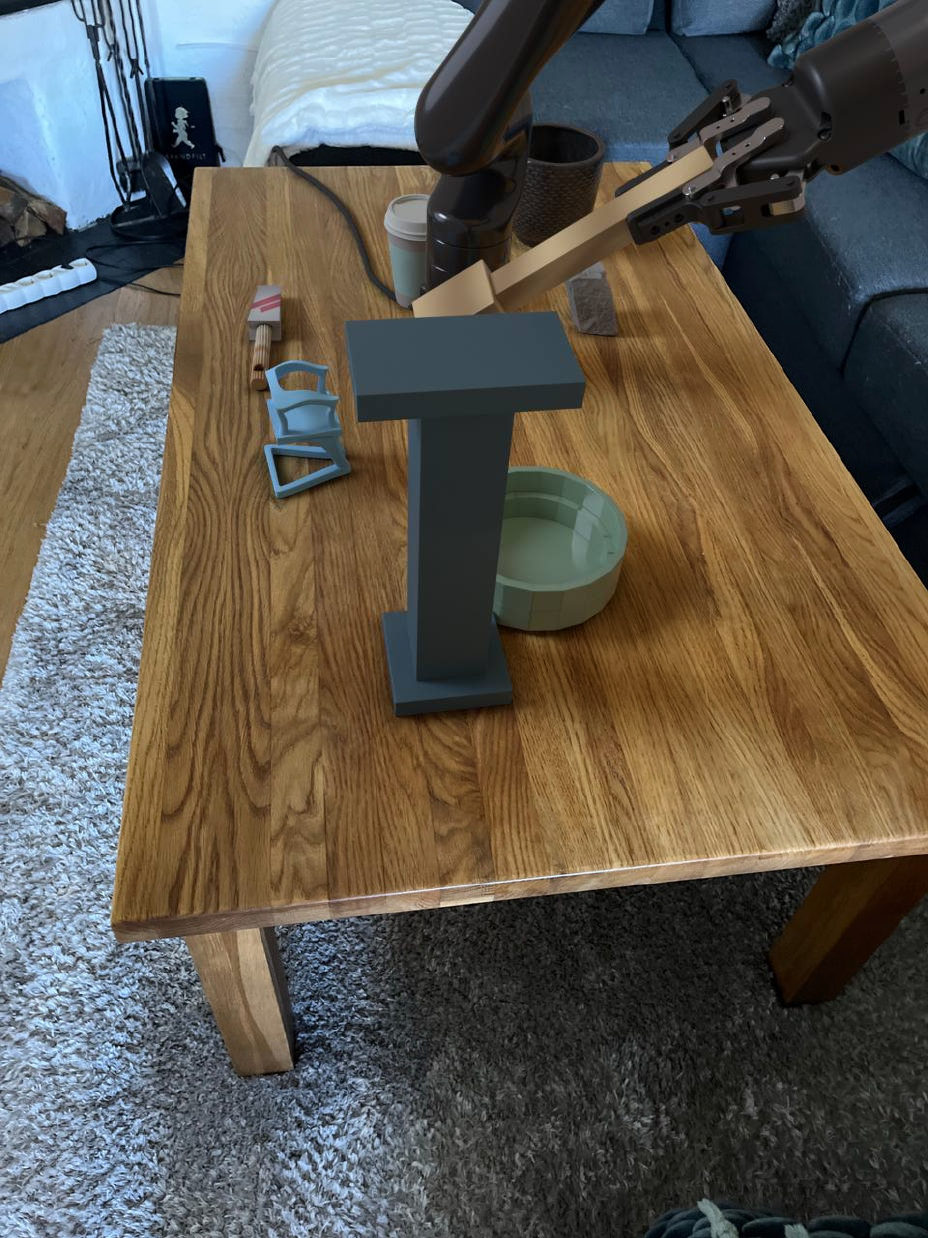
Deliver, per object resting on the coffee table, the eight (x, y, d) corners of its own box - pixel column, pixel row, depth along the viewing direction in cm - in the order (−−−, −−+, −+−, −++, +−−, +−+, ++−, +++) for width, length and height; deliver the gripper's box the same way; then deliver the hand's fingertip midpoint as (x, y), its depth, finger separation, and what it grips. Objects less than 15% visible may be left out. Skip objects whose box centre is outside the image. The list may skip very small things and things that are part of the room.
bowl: (411, 557, 91) (411, 511, 87) (536, 489, 98) (542, 444, 94) (525, 664, 83) (532, 620, 79) (651, 581, 91) (664, 537, 86)
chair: (355, 486, 97) (351, 390, 88) (275, 499, 95) (262, 402, 86) (340, 440, 102) (335, 344, 93) (264, 451, 100) (250, 355, 91)
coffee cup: (459, 289, 124) (464, 199, 114) (437, 322, 118) (440, 230, 109) (399, 275, 125) (399, 186, 116) (374, 307, 120) (372, 215, 111)
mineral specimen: (595, 294, 123) (613, 243, 116) (619, 341, 120) (639, 292, 113) (544, 299, 121) (559, 248, 114) (567, 348, 118) (584, 298, 111)
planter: (594, 263, 130) (610, 168, 120) (494, 257, 129) (502, 162, 120) (587, 215, 139) (601, 123, 129) (494, 210, 139) (501, 117, 129)
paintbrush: (284, 274, 118) (273, 374, 106) (286, 294, 120) (275, 394, 108) (253, 274, 117) (238, 374, 105) (256, 293, 120) (241, 393, 107)
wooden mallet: (438, 368, 67) (419, 346, 65) (429, 324, 70) (411, 301, 68) (730, 200, 59) (718, 168, 58) (706, 158, 62) (695, 127, 60)
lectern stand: (371, 719, 78) (358, 405, 54) (360, 629, 85) (343, 311, 61) (533, 701, 81) (590, 391, 56) (510, 614, 87) (552, 302, 63)
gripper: (837, -29, 58) (581, 116, 63) (935, 79, 50) (634, 235, 55) (852, 80, 64) (616, 205, 69) (941, 192, 56) (668, 324, 61)
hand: (625, 218), depth 62 cm, fingers closed on wooden mallet, 2 cm apart
